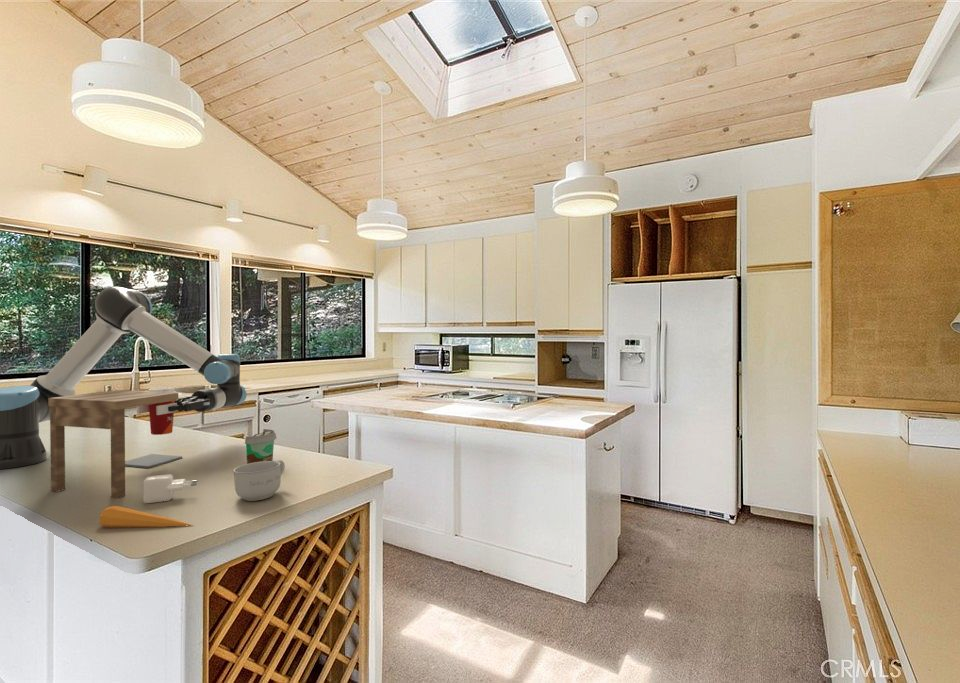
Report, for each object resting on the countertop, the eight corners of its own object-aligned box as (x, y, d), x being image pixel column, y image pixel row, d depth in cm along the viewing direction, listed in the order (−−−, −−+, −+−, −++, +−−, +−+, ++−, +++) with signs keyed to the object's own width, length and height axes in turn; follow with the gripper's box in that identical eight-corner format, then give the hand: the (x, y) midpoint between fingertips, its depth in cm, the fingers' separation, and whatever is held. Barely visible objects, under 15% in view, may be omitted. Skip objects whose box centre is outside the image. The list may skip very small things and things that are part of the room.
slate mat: (117, 465, 147) (117, 463, 147) (152, 455, 159) (152, 453, 159) (148, 468, 145) (148, 466, 145) (182, 458, 156) (182, 456, 156)
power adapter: (198, 493, 123) (198, 470, 123) (196, 499, 119) (196, 475, 119) (146, 499, 118) (146, 475, 118) (142, 505, 114) (141, 481, 114)
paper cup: (179, 433, 151) (179, 388, 150) (150, 436, 145) (150, 390, 145) (172, 429, 156) (172, 386, 156) (144, 432, 150) (144, 388, 150)
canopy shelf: (49, 491, 124) (48, 398, 123) (117, 471, 141) (116, 390, 141) (117, 498, 119) (116, 401, 118) (178, 477, 136) (178, 392, 136)
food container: (265, 470, 143) (265, 437, 143) (244, 470, 143) (244, 437, 143) (283, 459, 155) (283, 428, 155) (264, 459, 155) (264, 428, 155)
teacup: (250, 508, 113) (250, 474, 113) (224, 499, 119) (224, 467, 118) (300, 491, 125) (300, 460, 125) (274, 484, 130) (274, 455, 130)
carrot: (97, 531, 101) (92, 515, 99) (113, 516, 105) (108, 500, 104) (191, 542, 101) (188, 526, 99) (203, 525, 105) (200, 510, 103)
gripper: (231, 411, 166) (173, 424, 143) (184, 409, 170) (122, 420, 148) (231, 390, 165) (173, 399, 143) (184, 388, 170) (122, 396, 148)
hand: (147, 409), depth 146 cm, fingers closed on paper cup, 7 cm apart
